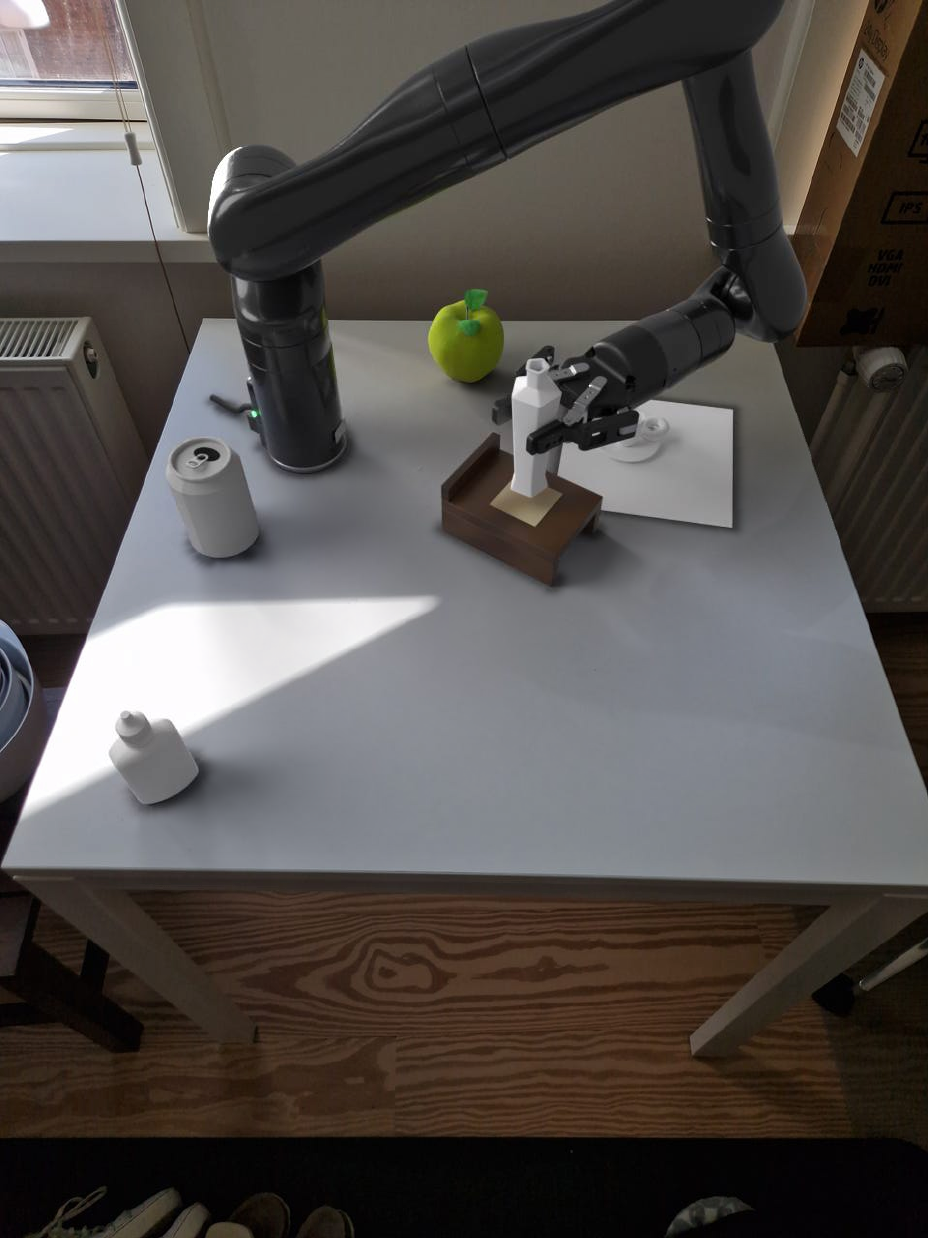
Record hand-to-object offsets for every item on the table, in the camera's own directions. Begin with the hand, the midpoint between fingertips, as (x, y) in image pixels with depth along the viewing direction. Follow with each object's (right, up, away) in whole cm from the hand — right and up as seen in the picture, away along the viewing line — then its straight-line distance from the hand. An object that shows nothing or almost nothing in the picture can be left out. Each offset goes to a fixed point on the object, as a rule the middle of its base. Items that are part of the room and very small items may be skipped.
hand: (512, 431), depth 80 cm
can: (-31, -9, +13) cm, 34 cm away
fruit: (-4, +14, +30) cm, 33 cm away
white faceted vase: (+2, -4, +8) cm, 9 cm away
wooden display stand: (+2, -8, +14) cm, 16 cm away
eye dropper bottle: (-31, -32, -4) cm, 45 cm away
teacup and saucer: (+17, +2, +21) cm, 27 cm away
